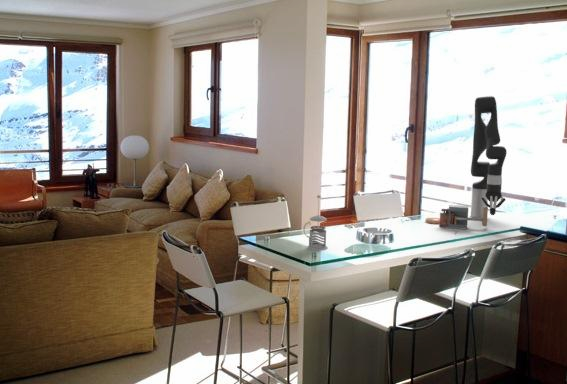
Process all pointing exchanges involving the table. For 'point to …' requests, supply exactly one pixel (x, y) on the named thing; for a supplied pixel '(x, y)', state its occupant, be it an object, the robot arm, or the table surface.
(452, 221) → the lighter
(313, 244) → the french press
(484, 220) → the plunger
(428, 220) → the coaster
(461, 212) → the grey box
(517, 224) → the table surface
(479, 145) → the robot arm
